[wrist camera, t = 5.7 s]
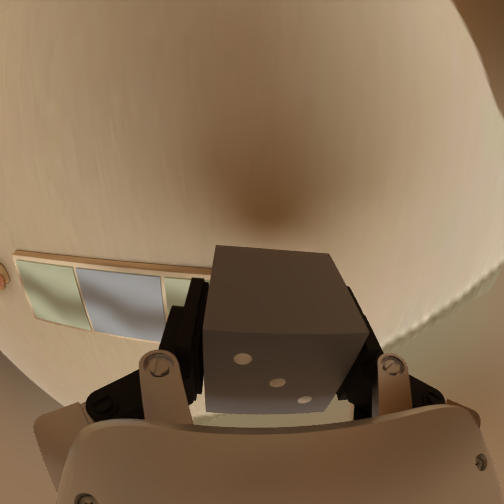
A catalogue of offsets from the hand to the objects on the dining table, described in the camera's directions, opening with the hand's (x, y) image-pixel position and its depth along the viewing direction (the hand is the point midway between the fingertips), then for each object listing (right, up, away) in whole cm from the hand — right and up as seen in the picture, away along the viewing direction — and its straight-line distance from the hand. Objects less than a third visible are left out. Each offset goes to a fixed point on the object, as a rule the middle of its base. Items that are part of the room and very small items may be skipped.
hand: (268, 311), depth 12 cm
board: (-13, -2, +13) cm, 18 cm away
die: (0, 0, +1) cm, 1 cm away
